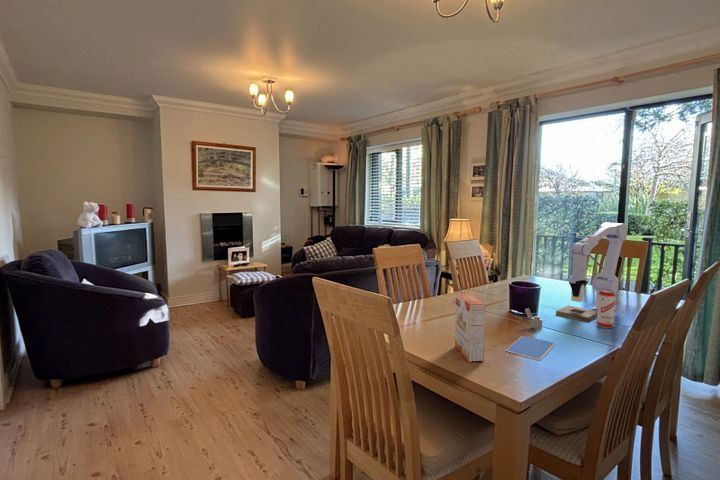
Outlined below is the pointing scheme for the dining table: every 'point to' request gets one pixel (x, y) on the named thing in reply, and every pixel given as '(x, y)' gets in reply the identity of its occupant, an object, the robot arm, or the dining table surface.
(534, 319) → the lighter
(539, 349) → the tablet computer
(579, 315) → the slotted board
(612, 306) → the beer can
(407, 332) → the dining table surface
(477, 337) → the cracker box
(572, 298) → the peg
